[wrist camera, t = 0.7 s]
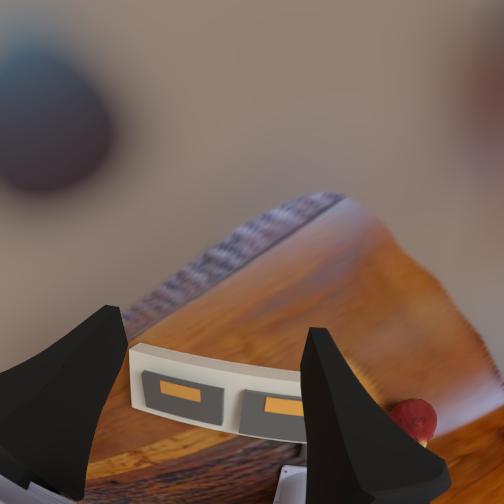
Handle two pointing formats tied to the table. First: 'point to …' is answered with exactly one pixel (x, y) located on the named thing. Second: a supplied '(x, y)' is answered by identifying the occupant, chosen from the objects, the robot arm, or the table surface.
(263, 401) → the rocker
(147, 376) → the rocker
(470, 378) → the table surface
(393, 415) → the onion
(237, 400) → the rocker switch panel
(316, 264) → the table surface
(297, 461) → the table surface
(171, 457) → the table surface
